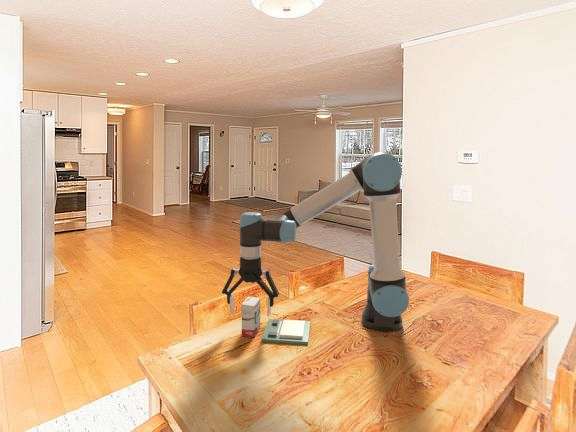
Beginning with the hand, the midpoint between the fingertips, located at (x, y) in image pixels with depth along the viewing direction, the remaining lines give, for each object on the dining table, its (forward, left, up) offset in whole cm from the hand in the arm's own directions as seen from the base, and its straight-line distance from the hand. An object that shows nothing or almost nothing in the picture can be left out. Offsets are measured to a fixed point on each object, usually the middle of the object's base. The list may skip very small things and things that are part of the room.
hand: (250, 313), depth 137 cm
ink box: (0, 0, -7) cm, 7 cm away
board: (-13, -1, -7) cm, 15 cm away
